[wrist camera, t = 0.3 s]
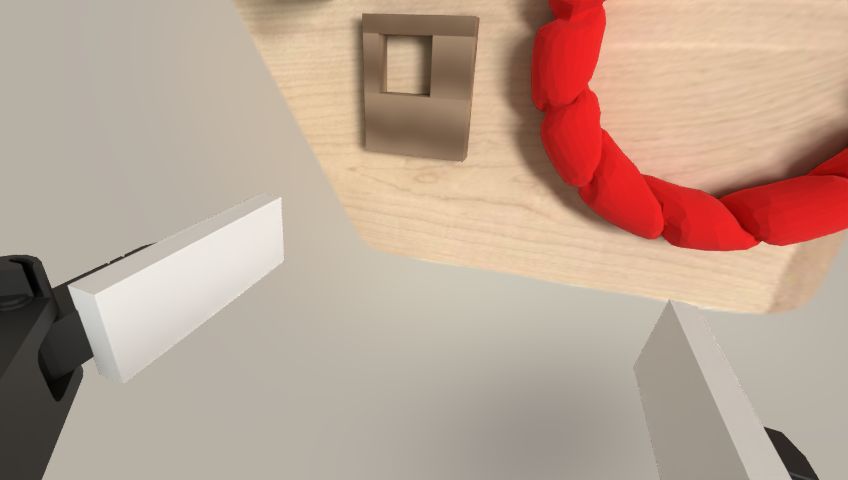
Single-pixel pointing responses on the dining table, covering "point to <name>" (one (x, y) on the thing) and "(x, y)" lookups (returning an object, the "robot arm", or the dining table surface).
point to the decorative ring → (646, 195)
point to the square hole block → (415, 113)
